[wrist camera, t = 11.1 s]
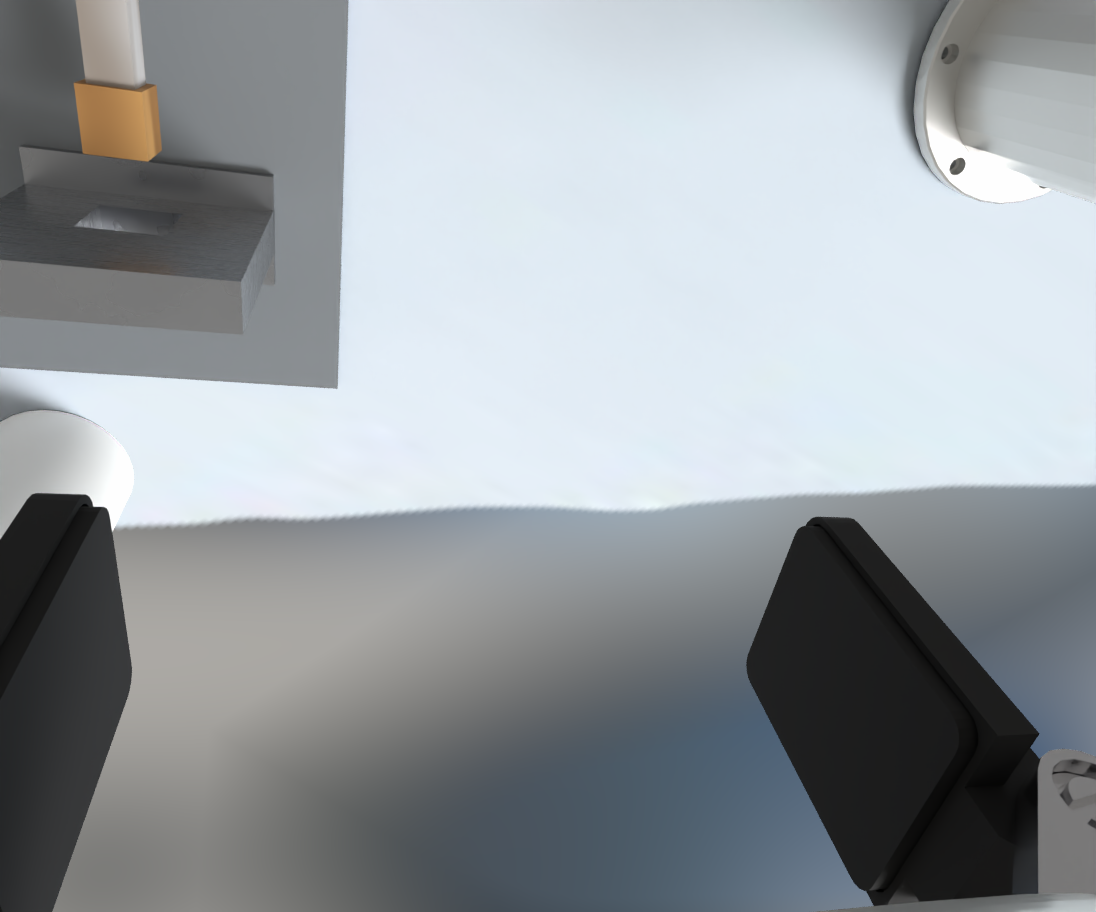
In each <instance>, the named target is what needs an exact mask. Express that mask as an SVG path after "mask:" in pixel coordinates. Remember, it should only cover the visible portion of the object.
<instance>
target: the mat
mask: <svg viewBox="0 0 1096 912" xmlns="http://www.w3.org/2000/svg"><path fill="white" fill-rule="evenodd" d="M139 11H140V23H141V34H142V45H143V57H144V68H145V79H146V83H147V84H154V85H157V97H158V109H159V122H160V134H161V146H162V151H160V152H159V153H158V154H157V155H156V156H154V157H153V158H152V159H151V160H156V161H164V162H173V163H181V164H189V165H197V166H205V167H213V168H222V169H230V170H238V171H246V172H254V173H262V174H271V175H274V210H275V278H276V282H275V285H274V286H273V285H262V287H261V289H260V292H259V295H258V297H257V300H256V302H255V305H254V308H253V310H252V313H251V315H250V318H249V321H248V323H247V326H246V328H245V331H244V334H243V335H239V334H226V333H212V332H199V331H186V330H173V329H160V328H147V327H134V326H121V325H108V324H95V323H82V322H69V321H56V320H43V319H30V318H16V317H3V316H0V367H3V368H19V369H35V370H51V371H66V372H82V373H98V374H114V375H130V376H146V377H161V378H177V379H193V380H209V381H225V382H241V383H256V384H272V385H288V386H304V387H320V388H336V389H337V386H338V351H339V316H340V280H341V244H342V208H343V173H344V137H345V101H346V66H347V30H348V0H139ZM83 79H85V72H84V64H83V56H82V48H81V40H80V32H79V23H78V15H77V7H76V0H0V198H2V197H3V196H5V195H7V194H8V193H10V192H12V191H13V190H15V189H17V188H18V187H20V186H22V185H23V184H25V182H24V176H23V170H22V164H21V158H20V152H19V146H21V145H23V144H25V145H33V146H42V147H50V148H58V149H66V150H74V151H83V150H82V142H81V135H80V127H79V119H78V112H77V104H76V96H75V89H74V83H75V82H77V81H80V80H83Z"/></svg>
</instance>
